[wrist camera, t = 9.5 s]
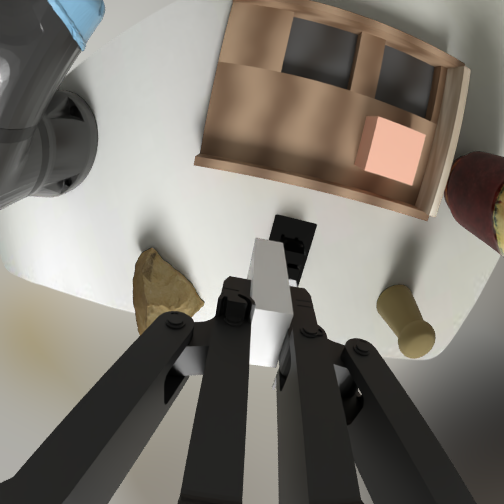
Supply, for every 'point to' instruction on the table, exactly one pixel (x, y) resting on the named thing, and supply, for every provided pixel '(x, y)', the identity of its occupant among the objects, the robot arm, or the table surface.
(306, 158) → the box
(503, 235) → the vase
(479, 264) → the table surface
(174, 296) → the rock
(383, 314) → the cork
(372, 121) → the block
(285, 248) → the black piece
